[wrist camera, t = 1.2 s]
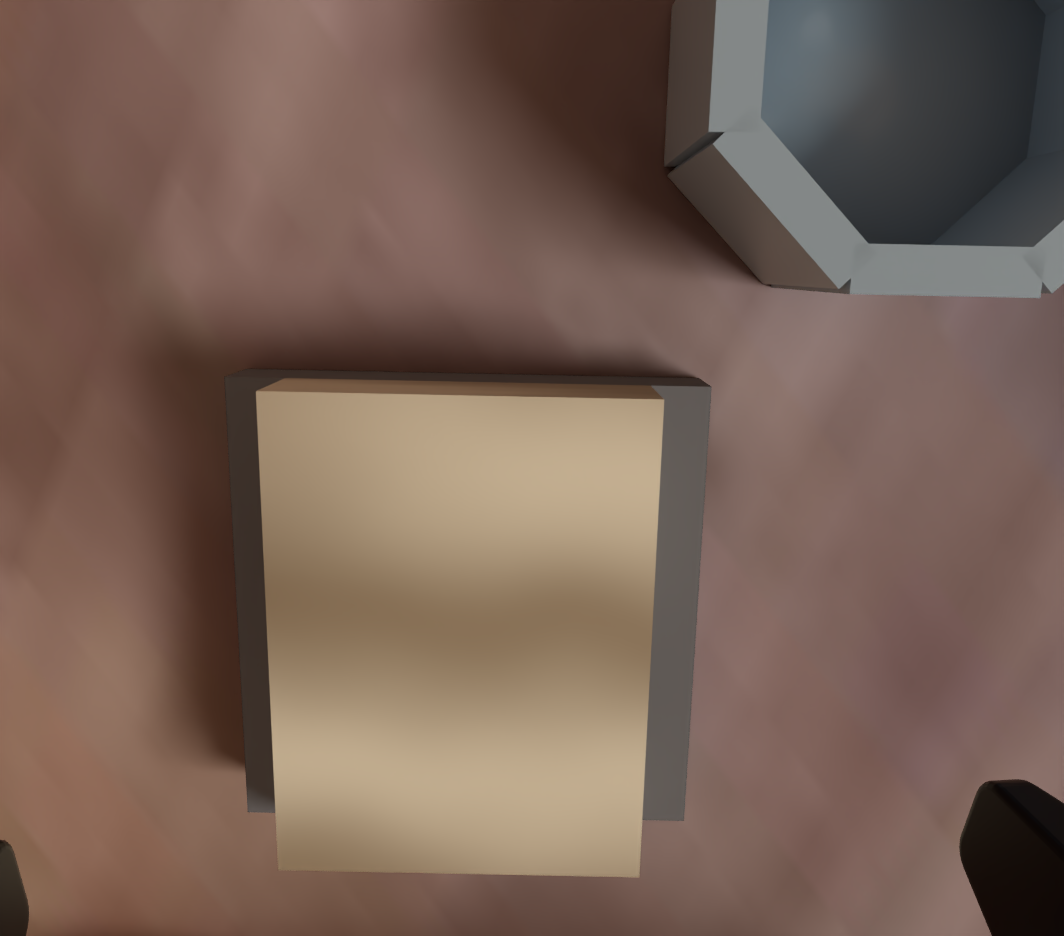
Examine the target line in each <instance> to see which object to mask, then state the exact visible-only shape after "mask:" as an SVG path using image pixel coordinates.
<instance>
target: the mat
mask: <svg viewBox="0 0 1064 936" xmlns="http://www.w3.org/2000/svg"><path fill="white" fill-rule="evenodd" d="M284 378H305V379H353V380H402V381H451V382H499V383H548V384H597V385H645V386H652V387H653V388H654V390H655V391H656V392H657V393H658V394H659V395H660V396H661V397H662V398H663V399H664V416H663V435H662V454H661V473H660V492H659V511H658V530H657V549H656V568H655V587H654V606H653V625H652V644H651V663H650V682H649V701H648V720H647V739H646V758H645V777H644V796H643V815H642V820H669V821H684V811H685V795H686V779H687V764H688V748H689V732H690V717H691V701H692V685H693V670H694V654H695V638H696V623H697V607H698V591H699V576H700V560H701V544H702V529H703V513H704V497H705V481H706V466H707V450H708V434H709V419H710V403H711V386H710V385H708V384H707V383H705V382H704V381H702V380H701V379H699V378H669V377H620V376H571V375H523V374H474V373H425V372H377V371H328V370H279V369H245V370H242V371H240V372H237V373H234V374H231V375H228V376H225V377H224V380H225V398H226V417H227V435H228V454H229V472H230V491H231V509H232V528H233V546H234V565H235V583H236V602H237V620H238V639H239V657H240V676H241V694H242V713H243V731H244V750H245V768H246V787H247V805H248V812H267V813H275V792H274V771H273V749H272V728H271V706H270V685H269V663H268V642H267V621H266V599H265V578H264V556H263V535H262V513H261V492H260V470H259V449H258V427H257V406H256V391H257V390H260V389H262V388H264V387H266V386H269V385H271V384H273V383H275V382H278V381H280V380H282V379H284Z"/></svg>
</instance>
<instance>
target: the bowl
mask: <svg viewBox="0 0 1064 936" xmlns="http://www.w3.org/2000/svg"><path fill="white" fill-rule="evenodd" d="M664 167H675V168H674V169H673V170H672V171H671V172H670V173H669V174H668V175H667V176H668V177H669V179H670V180H671V181H672V182H673V183H674V184H675V185H676V186H677V188H678V189H679V190H680V191H681V192H682V193H683V194H684V195H685V197H686V198H687V199H688V200H689V201H690V202H691V203H692V204H693V206H694V207H695V208H696V209H697V210H698V211H699V212H700V213H701V215H702V216H703V217H704V218H705V219H706V220H707V221H708V222H709V224H710V225H711V226H712V227H713V228H714V229H715V230H716V232H717V233H718V234H719V235H720V236H721V237H722V238H723V239H724V241H725V242H726V243H727V244H728V245H729V246H730V247H731V248H732V250H733V251H734V252H735V253H736V254H737V255H738V256H739V257H740V259H741V260H742V261H743V262H744V263H745V264H746V265H747V266H748V268H749V269H750V270H751V271H752V272H753V273H754V274H755V275H756V277H757V278H758V279H759V280H760V281H761V282H762V283H763V284H771V287H772V288H784V289H796V290H807V291H819V292H831V293H843V294H872V295H921V296H969V297H1017V298H1040V296H1041V293H1053V292H1054V291H1056V290H1057V289H1058V288H1059V287H1060V286H1061V285H1062V284H1064V0H675V2H674V4H673V5H672V13H671V34H670V54H669V74H668V94H667V114H666V134H665V155H664Z"/></svg>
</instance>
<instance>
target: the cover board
mask: <svg viewBox="0 0 1064 936" xmlns="http://www.w3.org/2000/svg"><path fill="white" fill-rule="evenodd" d="M256 406H257V427H258V449H259V470H260V492H261V513H262V535H263V556H264V578H265V599H266V621H267V642H268V663H269V685H270V706H271V728H272V749H273V771H274V792H275V814H276V835H277V857H278V870H296V871H346V872H397V873H447V874H498V875H548V876H599V877H639V873H640V854H641V835H642V815H643V796H644V777H645V758H646V739H647V720H648V701H649V682H650V663H651V644H652V625H653V606H654V587H655V568H656V549H657V530H658V511H659V492H660V473H661V454H662V435H663V416H664V399H663V398H662V397H661V396H660V395H659V394H658V393H657V392H656V391H655V390H654V388H653V387H652V386H645V385H597V384H548V383H499V382H451V381H402V380H353V379H305V378H284V379H282V380H280V381H278V382H275V383H273V384H271V385H269V386H266V387H264V388H262V389H260V390H257V391H256Z"/></svg>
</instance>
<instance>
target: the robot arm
mask: <svg viewBox="0 0 1064 936" xmlns="http://www.w3.org/2000/svg"><path fill="white" fill-rule="evenodd" d="M959 848H960V857H961V861H962V864H963V867H964V870H965V872H966V875H967V877H968V879H969V882H970V884H971V887H972V889H973V891H974V894H975V896H976V899H977V901H978V903H979V906H980V908H981V911H982V913H983V916H984V918H985V920H986V923H987V925H988V928H989V930H990V932H991V935H992V936H1064V803H1062V802H1061V801H1059V800H1058V799H1056V798H1055V797H1053V796H1051V795H1050V794H1048V793H1047V792H1045V791H1044V790H1042V789H1040V788H1039V787H1037V786H1036V785H1034V784H1032V783H1030V782H1028V781H1025V780H1019V779H1014V780H997V781H988V782H985V783H984V784H983V785H981V786H980V787H979V789H978V791H977V793H976V796H975V799H974V801H973V804H972V807H971V809H970V812H969V815H968V818H967V820H966V823H965V826H964V829H963V831H962V834H961V837H960V846H959ZM28 921H29V906H28V900H27V897H26V893H25V890H24V886H23V883H22V879H21V876H20V872H19V868H18V865H17V861H16V858H15V854H14V851H13V849H12V847H11V845H10V844H9V843H8V842H6V841H5V840H0V936H26V933H27V928H28Z"/></svg>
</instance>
